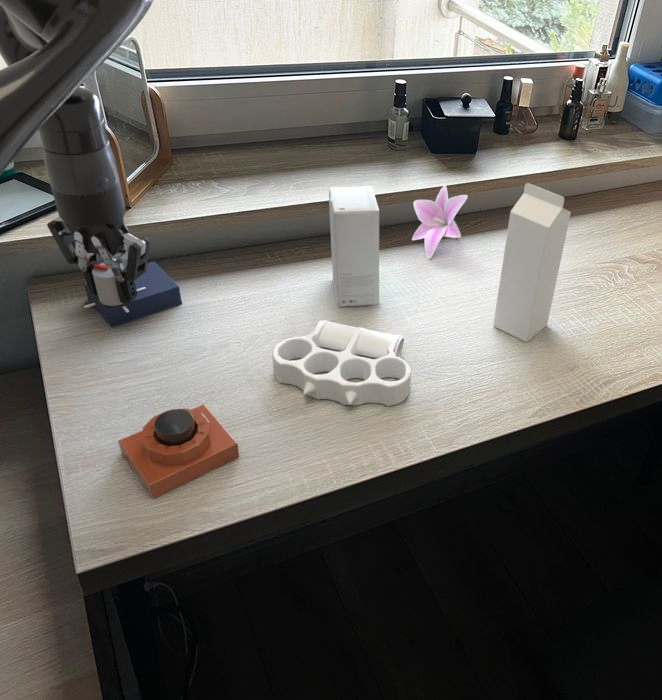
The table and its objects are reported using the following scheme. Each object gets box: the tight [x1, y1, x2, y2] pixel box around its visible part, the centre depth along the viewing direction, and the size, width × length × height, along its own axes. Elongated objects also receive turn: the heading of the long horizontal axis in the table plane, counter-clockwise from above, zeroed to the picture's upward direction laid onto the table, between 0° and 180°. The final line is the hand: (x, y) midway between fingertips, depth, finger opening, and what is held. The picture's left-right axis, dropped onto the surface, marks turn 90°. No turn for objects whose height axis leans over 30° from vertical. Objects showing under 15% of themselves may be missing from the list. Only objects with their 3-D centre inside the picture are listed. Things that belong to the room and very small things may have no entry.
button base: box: [117, 404, 240, 499], centre depth 80 cm, size 10×8×4 cm
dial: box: [92, 262, 124, 306], centre depth 96 cm, size 4×4×5 cm
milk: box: [492, 182, 572, 343], centre depth 100 cm, size 6×6×22 cm
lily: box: [411, 183, 469, 260], centre depth 122 cm, size 12×12×10 cm
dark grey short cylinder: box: [154, 408, 196, 446], centre depth 78 cm, size 4×4×2 cm
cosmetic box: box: [328, 185, 380, 308], centre depth 105 cm, size 8×7×16 cm
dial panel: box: [83, 261, 183, 328], centre depth 100 cm, size 12×10×3 cm
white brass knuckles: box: [272, 319, 412, 407], centre depth 94 cm, size 3×18×15 cm
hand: (113, 295), depth 97 cm, fingers closed on dial, 4 cm apart
